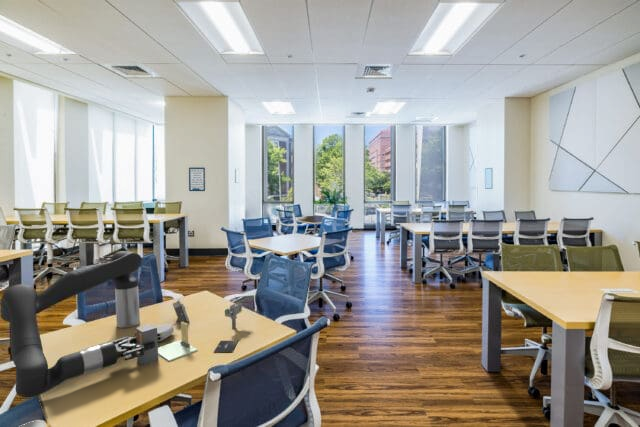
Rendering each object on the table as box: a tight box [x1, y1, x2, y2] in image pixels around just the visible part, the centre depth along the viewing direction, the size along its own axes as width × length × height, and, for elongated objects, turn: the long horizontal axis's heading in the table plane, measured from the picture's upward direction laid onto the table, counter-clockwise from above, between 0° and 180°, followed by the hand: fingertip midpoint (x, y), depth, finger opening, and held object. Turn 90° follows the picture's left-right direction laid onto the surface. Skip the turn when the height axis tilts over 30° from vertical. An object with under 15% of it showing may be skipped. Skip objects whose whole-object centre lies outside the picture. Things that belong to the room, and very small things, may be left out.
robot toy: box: [133, 322, 177, 343], centre depth 143 cm, size 12×4×15 cm
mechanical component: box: [224, 302, 243, 330], centre depth 152 cm, size 3×10×10 cm, turn 158°
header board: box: [158, 322, 199, 362], centre depth 131 cm, size 13×11×10 cm
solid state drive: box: [213, 340, 239, 354], centre depth 135 cm, size 7×10×1 cm
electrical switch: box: [172, 298, 190, 324], centre depth 163 cm, size 9×5×9 cm, turn 30°
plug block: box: [135, 323, 159, 367], centre depth 124 cm, size 6×5×12 cm
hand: (149, 340), depth 124 cm, fingers open, 8 cm apart
